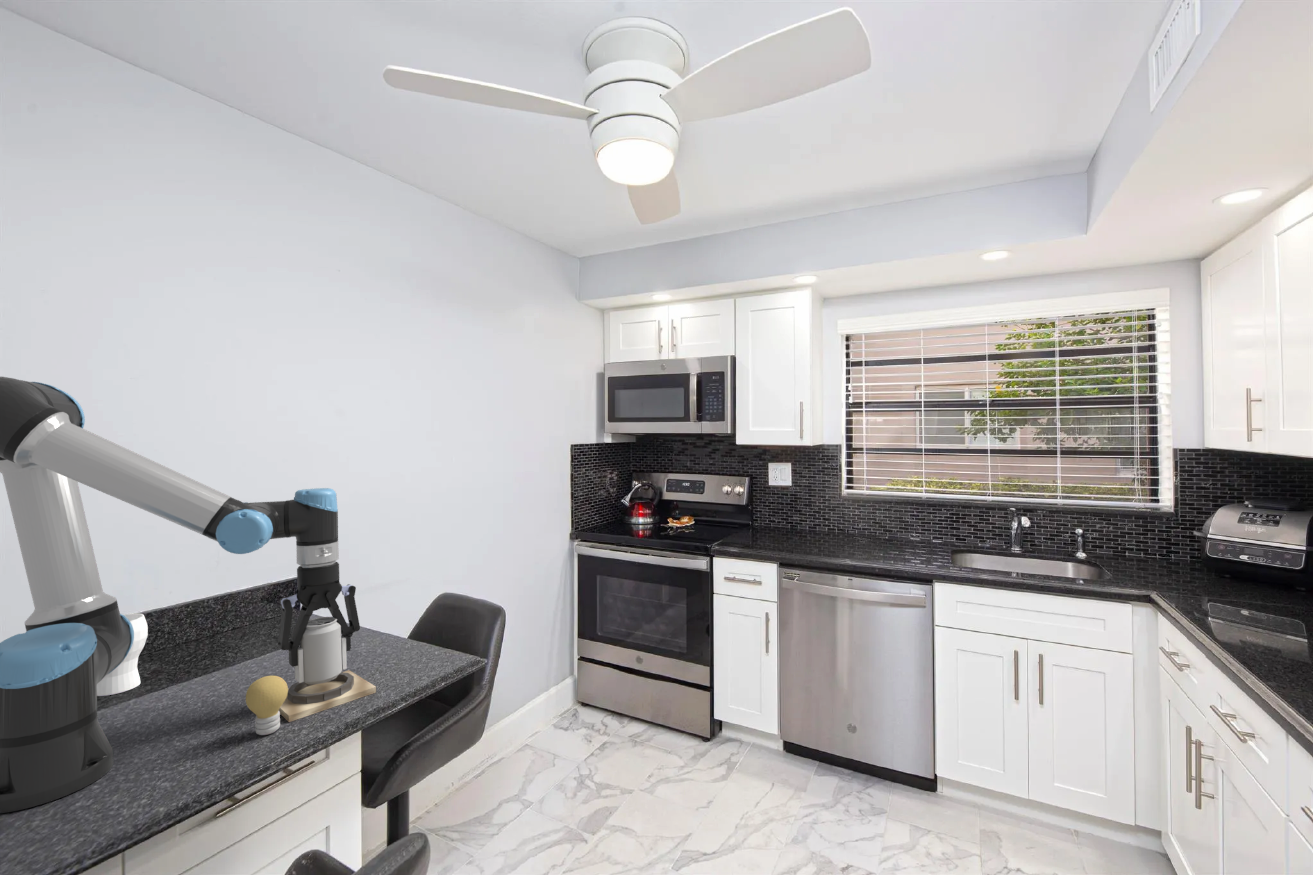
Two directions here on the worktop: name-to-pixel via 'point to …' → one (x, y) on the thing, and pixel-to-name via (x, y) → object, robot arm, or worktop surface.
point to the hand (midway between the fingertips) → (321, 673)
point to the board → (321, 706)
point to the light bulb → (266, 702)
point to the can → (321, 650)
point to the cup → (126, 661)
